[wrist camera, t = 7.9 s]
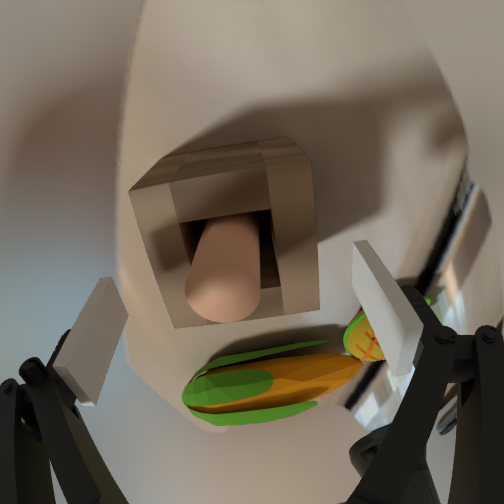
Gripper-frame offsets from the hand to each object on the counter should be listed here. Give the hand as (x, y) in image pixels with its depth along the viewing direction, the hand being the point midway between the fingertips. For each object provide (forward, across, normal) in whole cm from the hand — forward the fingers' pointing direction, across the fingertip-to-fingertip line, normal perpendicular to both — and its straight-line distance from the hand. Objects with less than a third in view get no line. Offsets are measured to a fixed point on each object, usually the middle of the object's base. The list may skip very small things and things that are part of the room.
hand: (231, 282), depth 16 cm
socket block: (+11, 0, 0) cm, 11 cm away
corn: (+11, -1, +18) cm, 21 cm away
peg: (+11, 0, 0) cm, 11 cm away
